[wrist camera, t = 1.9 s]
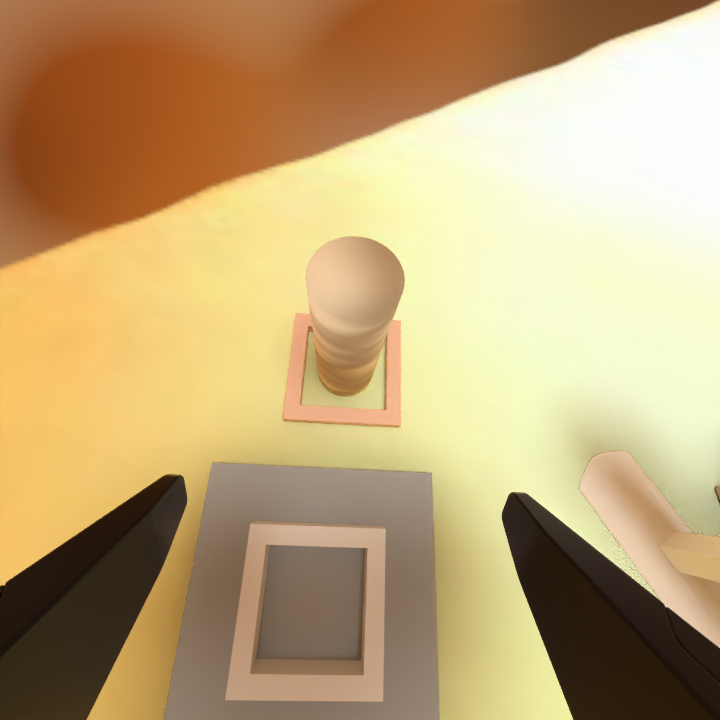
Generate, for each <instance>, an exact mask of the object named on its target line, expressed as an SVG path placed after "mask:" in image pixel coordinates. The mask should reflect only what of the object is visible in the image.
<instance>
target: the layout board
mask: <svg viewBox="0 0 720 720" xmlns="http://www.w3.org/2000/svg"><path fill="white" fill-rule="evenodd" d="M164 720H439V689H438V657H437V625H436V593H435V560H434V528H433V496H432V473H422V472H402V471H381V470H360V469H339V468H318V467H297V466H276V465H255V464H234V463H214V462H212V466H211V472H210V477H209V482H208V487H207V493H206V498H205V503H204V509H203V514H202V519H201V524H200V530H199V535H198V540H197V546H196V551H195V556H194V561H193V567H192V572H191V577H190V582H189V588H188V593H187V598H186V604H185V609H184V614H183V619H182V625H181V630H180V635H179V641H178V646H177V651H176V656H175V662H174V667H173V672H172V677H171V683H170V688H169V693H168V699H167V704H166V709H165V714H164Z"/></svg>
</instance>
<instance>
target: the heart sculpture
mask: <svg viewBox="0 0 720 720" xmlns="http://www.w3.org/2000/svg"><path fill="white" fill-rule="evenodd" d="M579 490H580V491H581V493H582V494H583V495H584V497H585V498H586V499H587V501H588V502H589V503H590V505H591V506H592V508H593V509H594V510H595V512H596V513H597V514H598V516H599V517H600V518H601V520H602V521H603V522H604V524H605V525H606V527H607V528H608V529H609V531H610V532H611V533H612V535H613V536H614V537H615V539H616V540H617V542H618V543H619V544H620V546H621V547H622V548H623V550H624V551H625V552H626V554H627V555H628V556H629V558H630V559H631V561H632V562H633V563H634V565H635V566H636V567H637V569H638V570H639V571H640V573H641V574H642V576H643V577H644V578H645V580H646V581H647V582H648V584H649V585H650V586H651V588H652V589H653V590H654V592H655V593H656V595H657V596H658V597H659V599H660V600H661V601H662V603H664V605H665V607H669V608H670V609H671V610H672V611H674V612H675V613H676V614H677V615H679V616H680V617H681V618H682V619H684V620H685V621H686V622H687V623H689V624H690V625H691V626H692V627H694V628H695V629H696V630H698V631H699V632H700V633H701V634H703V635H704V636H705V637H707V638H708V639H709V640H710V641H712V642H713V643H714V644H715V645H717V646H718V647H719V648H720V537H715V536H708V535H701V534H694V533H693V532H692V531H691V530H690V529H689V527H688V526H687V525H686V524H685V522H684V521H683V520H682V519H681V517H680V516H679V515H678V514H677V512H676V511H675V510H674V509H673V507H672V506H671V505H670V504H669V503H668V501H667V500H666V499H665V498H664V496H663V495H662V494H661V493H660V491H659V490H658V489H657V488H656V486H655V485H654V484H653V483H652V481H651V480H650V479H649V478H648V476H647V475H646V474H645V473H644V471H643V470H642V469H641V468H640V466H639V465H638V464H637V463H636V461H635V460H634V459H633V458H632V456H631V455H630V454H629V453H628V451H612V452H605V453H601V454H598V455H595V456H593V457H592V459H591V460H590V462H589V463H588V464H587V467H586V469H585V471H584V474H583V476H582V479H581V483H580V486H579Z"/></svg>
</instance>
